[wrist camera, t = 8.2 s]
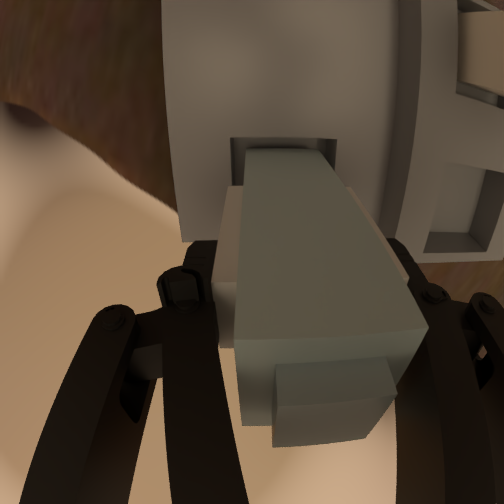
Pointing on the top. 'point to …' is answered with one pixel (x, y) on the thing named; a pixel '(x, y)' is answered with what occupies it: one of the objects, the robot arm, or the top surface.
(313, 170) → the plug
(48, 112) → the top surface
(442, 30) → the panel
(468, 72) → the plug
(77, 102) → the top surface
